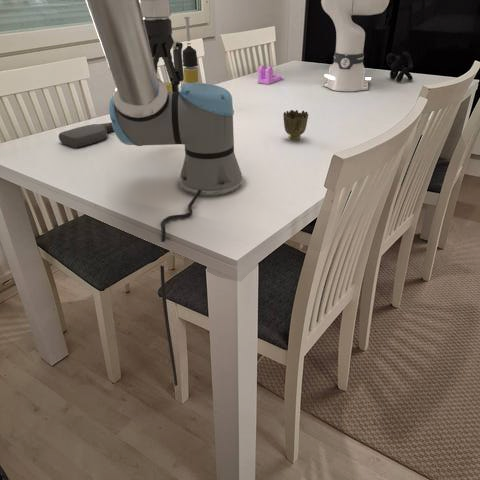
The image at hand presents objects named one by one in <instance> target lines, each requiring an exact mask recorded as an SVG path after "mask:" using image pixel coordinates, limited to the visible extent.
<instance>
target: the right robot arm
mask: <svg viewBox="0 0 480 480" xmlns="http://www.w3.org/2000/svg"><path fill="white" fill-rule="evenodd" d="M320 3H321V4H320V5H321V7H322V10H323V11H324V12H325V13H326V14H327V15H328V16H329V18H330V19H331V20H332V22H333V24H334V27H335V32H336V33H335V35H336V37H335V38H336V39H335V51H334V53H333V54H334V55H333V60H332V61H333V63H332V64H331V65H330V66H329V69H328V74H326V73H325V74H324V77H325V78H327V82H324V83H323V87H324V88H327V89H330V90H333V91H338V92H359V91H368V90H369V81H371V79H372V77H366V76H365V73H366V68H365V65H364V58H365V53H364V50H365V49H364V47H365V41H366V32H365V30H364V28H363V27H361V26H360V25H358V24H357V23H355V22H354V21H353V20H352V16H373V15H379V14H382V13H384V12H385V10H386V9H387V7H388V6H389V3H390V0H320Z"/></svg>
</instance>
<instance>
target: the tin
mask: <svg viewBox="0 0 480 480" xmlns="http://www.w3.org/2000/svg"><path fill="white" fill-rule="evenodd" d="M162 82H163V81H162ZM163 83H164V84H165V86H166V88H167V91H168V92H172V84H171V82H165V81H164V82H163Z"/></svg>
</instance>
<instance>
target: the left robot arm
mask: <svg viewBox="0 0 480 480" xmlns="http://www.w3.org/2000/svg"><path fill="white" fill-rule="evenodd" d="M85 3H86V6H87V9H88V11H89V14H90V16H91V19H92V21H93V25H94V29H95V31H96V34H97V37H98V39H99V41H100V44H101V48H102V50H103V53H104V57H105V59H106V62H107V65H108V69H109V71H110V73H111V76H112V80H113V82H114V85H115V90H114V91H113V94H112V95H111V97H110V100H109V106H108V107H109V108H108V109H109V117H110V120H111V123H112V127H113V132H114V134H115V136H116V138H117V139H118V140H119V142H121V144H124V145H126V146H136V147H143V146H169V145H171V146H172V145H173V146H175V145H184V154H185V155H184V158H183V164H182V168H181V171H180V177H179V178H180V179H179V183H180V184H179V185H180V188H181V189H182V191H184V192H186V193H187V194H190V195H194V196H193V197H192V199H191V201H190V202H189V204H188V205H187V211H188V212H186V213H183V214H174V215H173V214H172V215H169V216H166V217H165V218H164V219H162V220H161V222H160V228H161V239H160V241H161V243H164V242H166V225H165V224H166V223H167V222H169V221H171V220H176V219H185V218H188V217H190V216H192V214H193V209H192V207H193V205H194V203H195V202H196V201H197V199H198V197H221V196H224V195H229V194H232V193H234V192H235V191H237V190H239V189H240V188H241V187H242V185H243V174H242V171H241V168H240V165H239V163H238V160H237V157H236V154H235V138H234V137H235V135H234V134H235V133H234V114H235V110H234V106H233V105H234V104H233V96H232V94H231V92H230V91H229V90H227V89H226V88H224V87H222V86H220V85H215V84H211V83H203V82H199V83H192V84H191V83H187V84H185V83H183V84H182V85H180V84H181V82H183V81H184V66H183V53H182V52H183V47H184V45H183V42H180V41H175V39H174V38H173V25H172V19H171V18H169V17H171V15H172V13H171V4H170V3H171V2H170V0H85ZM171 51H172V52H171ZM160 59H162V60H163V63H164V66H165V70H166V73H167V76H168V79H169V83H171V84H172V92H168V91H167V88H166V86H165V84H164V83H163V81H162V80H161V79H160V78H158V75H157V74H158V63H159V62H160ZM159 267H160V269H159V270H160V284H161V285H160V286H161V297H162V307H163V316H164V322H165V328H166V336H167V343H168V348H169V355H170V361H171V369H172V374H173V375H172V376H173V385H174V387H175V386H176V387H177V386H179V383H178V377H177V368H176V361H175V355H174V347H173V342H172V341H173V340H172V334H171V329H170V321H169V313H168V312H169V311H168V303H167V295H166V279H165V266H164V265H161V264H160V265H159Z"/></svg>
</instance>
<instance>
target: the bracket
mask: <svg viewBox="0 0 480 480" xmlns="http://www.w3.org/2000/svg"><path fill="white" fill-rule="evenodd" d="M282 79H283V76H282V75H281V74H274V68H273V66H265V65H259V67H258V69H257V83H258V84H265V85H270V84H273V83H276V82H279V81H281V80H282Z"/></svg>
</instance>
